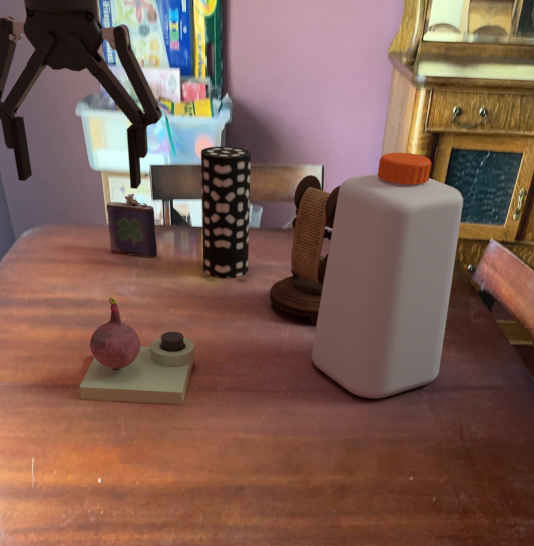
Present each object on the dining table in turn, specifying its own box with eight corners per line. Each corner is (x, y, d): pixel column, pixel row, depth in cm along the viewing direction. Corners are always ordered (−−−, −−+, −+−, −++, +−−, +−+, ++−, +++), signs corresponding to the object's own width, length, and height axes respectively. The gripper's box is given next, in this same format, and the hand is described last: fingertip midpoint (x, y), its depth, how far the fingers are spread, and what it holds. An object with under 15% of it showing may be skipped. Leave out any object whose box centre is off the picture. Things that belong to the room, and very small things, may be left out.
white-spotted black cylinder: (194, 267, 125) (190, 149, 113) (229, 258, 129) (230, 144, 117) (221, 281, 120) (220, 160, 108) (257, 271, 124) (261, 154, 112)
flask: (108, 252, 129) (103, 193, 123) (115, 247, 131) (110, 189, 125) (154, 258, 127) (151, 199, 121) (160, 253, 130) (157, 195, 123)
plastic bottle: (449, 382, 94) (500, 166, 77) (364, 408, 87) (398, 179, 70) (380, 338, 104) (412, 139, 87) (299, 359, 97) (316, 148, 81)
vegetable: (151, 369, 90) (146, 297, 83) (118, 387, 85) (111, 313, 79) (118, 355, 92) (111, 285, 86) (84, 373, 88) (74, 300, 82)
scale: (80, 399, 86) (77, 375, 84) (103, 354, 96) (100, 332, 94) (185, 405, 86) (185, 381, 84) (197, 359, 96) (196, 337, 94)
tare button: (159, 352, 91) (159, 340, 90) (163, 342, 93) (162, 330, 92) (182, 353, 91) (181, 341, 90) (185, 343, 93) (184, 331, 92)
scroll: (251, 303, 113) (255, 176, 101) (314, 283, 121) (324, 163, 109) (313, 334, 104) (325, 200, 92) (376, 311, 112) (395, 184, 100)
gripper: (-80, -43, 67) (-33, 182, 80) (171, -25, 67) (177, 197, 80) (-49, -44, 73) (-10, 166, 86) (182, -28, 73) (186, 180, 86)
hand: (80, 182), depth 83 cm, fingers open, 13 cm apart
